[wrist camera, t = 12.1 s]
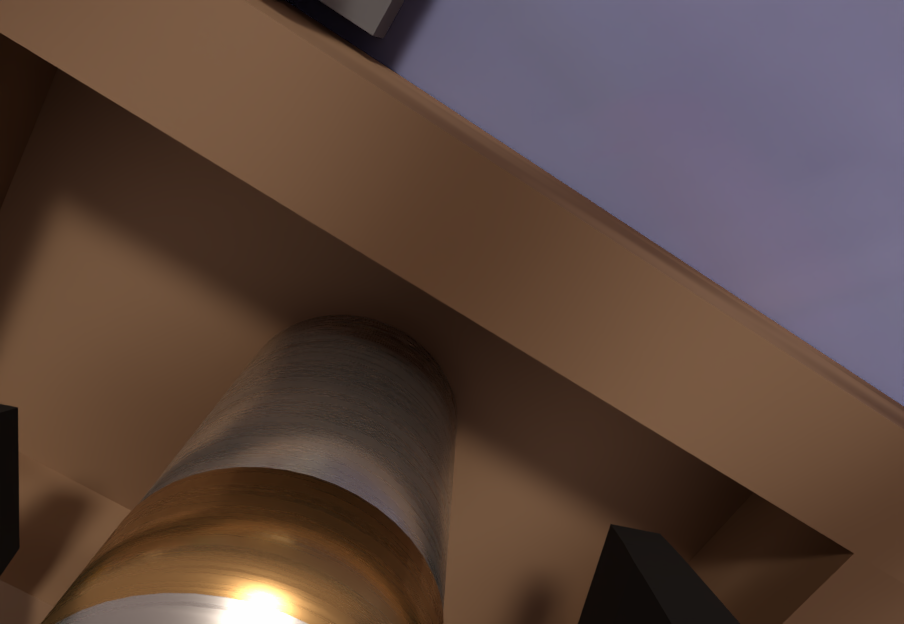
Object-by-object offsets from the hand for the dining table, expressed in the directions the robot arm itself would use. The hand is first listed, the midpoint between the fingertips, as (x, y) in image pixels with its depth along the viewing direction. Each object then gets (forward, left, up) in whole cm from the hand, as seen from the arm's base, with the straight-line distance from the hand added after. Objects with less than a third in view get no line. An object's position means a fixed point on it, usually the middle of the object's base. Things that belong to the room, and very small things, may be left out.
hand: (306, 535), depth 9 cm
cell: (0, 0, -3) cm, 3 cm away
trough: (0, 0, -3) cm, 3 cm away
